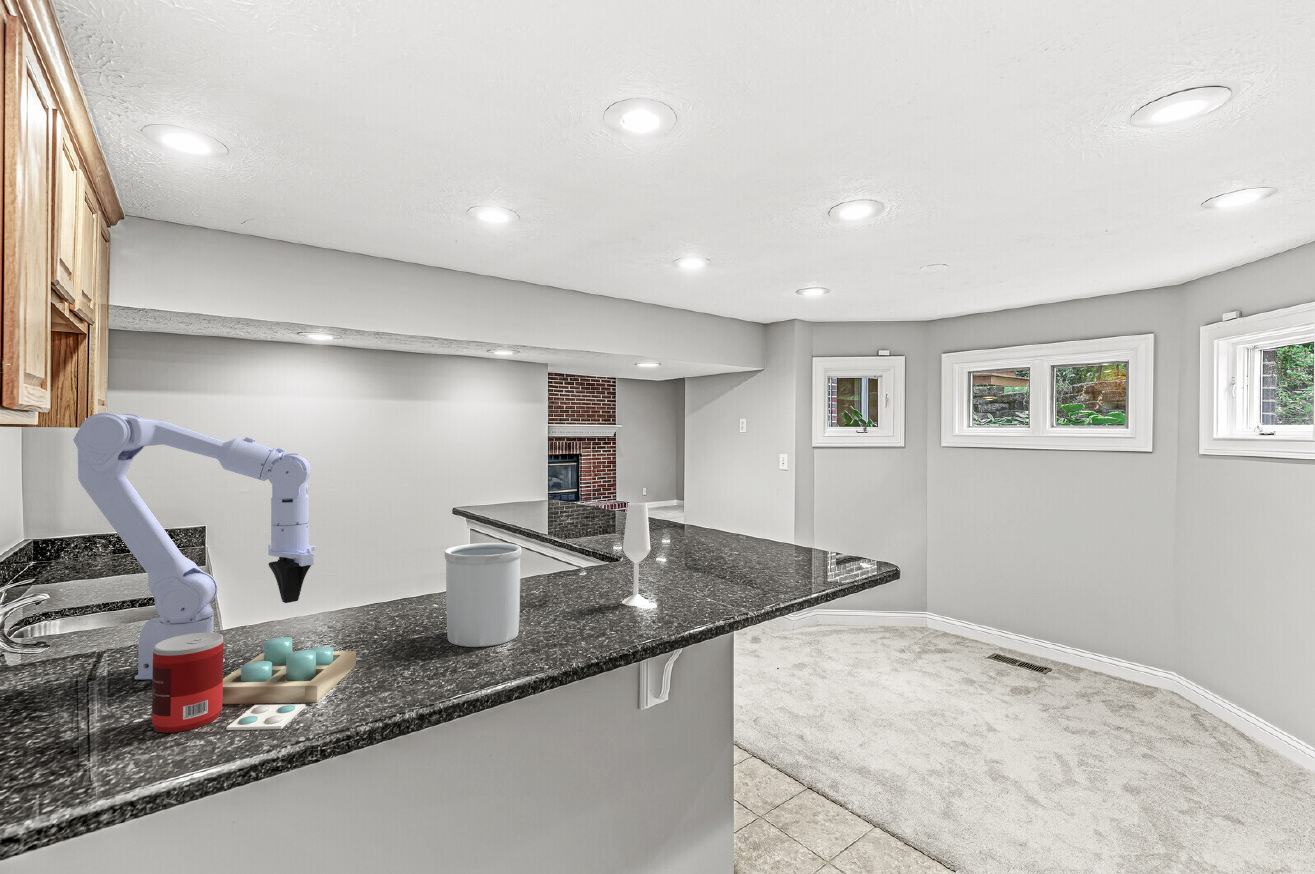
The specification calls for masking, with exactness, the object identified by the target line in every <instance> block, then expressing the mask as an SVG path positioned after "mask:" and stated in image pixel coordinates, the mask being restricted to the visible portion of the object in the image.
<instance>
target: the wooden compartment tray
mask: <svg viewBox="0 0 1315 874" xmlns="http://www.w3.org/2000/svg"><path fill="white" fill-rule="evenodd" d="M256 661H264V652H262V653H260V654H259V655H257V656H256V657H255V658H253V659H251V660H250V661H249V662H247V663H246V664H248V663H251V662H256ZM356 666H357V651H356V650H346V651H345V650H342V651H341V650H339V651H337V650H335V651H334V650H333V662H332V663H331V664H330V665H327V666H316V675H315V677H314V678H312V679H309V680H306V681H286V665H283V666H272V677H271V678H270V679H268V680H267V681H266V682H241V667H239V668H237V669H236V670H235V671H232V672H231V673H230V674H228V675H227V676H225V677H223V698H222V705H237V704H239V705H240V704H241V705H243V704H246V705H247V704H292V703H293V704H299V703H300V704H306V703H307V704H309V703H318V702H319V701H320V700H321V699H322V698H323V697H324V696H326V695H327V693H328V692H330V690H332V689H333V688H334V687H335V686H336V685H337V684H338V683H339V682H340V681H341V680H342V679H343V678H344V677H345V676H347V675H348V673H350V672H351V671H352V670H353V669H354V668H355V667H356Z"/></svg>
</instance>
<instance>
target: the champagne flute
mask: <svg viewBox="0 0 1315 874" xmlns="http://www.w3.org/2000/svg"><path fill="white" fill-rule="evenodd" d="M649 523H650V521H649V510H648V503H646V502H628V503H627V511H626V518H625V526H624V534H623V535H624V536H623V543H622V544H623V545H622V550H623V553H624V555H625V556H626V557H627V558H628V559H629V560H630V561H631V562H633V587H632V589H633V590H632V591H633V594H631V595H630V596H629V597H627V598H624V600H622V601H621V604H623V605H626V606H631V607H641V606H647V605H649V604H650V601H649V600H647V599H646V598H644V597H642V596H641V595H640V594H639V573H640V572H639V569H640V568H639V566H640V565H639V564H640V563H641V562H643V560H644V559H646V557H647V556H648V555H649V553H650V552H651V540H650V538H651V536H650V526H649Z"/></svg>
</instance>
